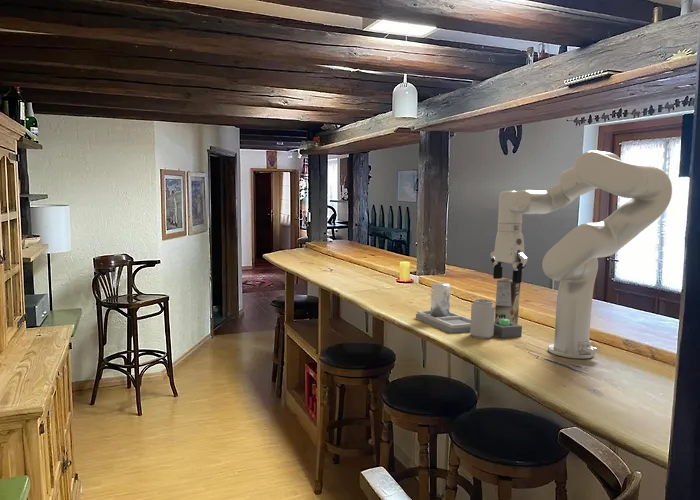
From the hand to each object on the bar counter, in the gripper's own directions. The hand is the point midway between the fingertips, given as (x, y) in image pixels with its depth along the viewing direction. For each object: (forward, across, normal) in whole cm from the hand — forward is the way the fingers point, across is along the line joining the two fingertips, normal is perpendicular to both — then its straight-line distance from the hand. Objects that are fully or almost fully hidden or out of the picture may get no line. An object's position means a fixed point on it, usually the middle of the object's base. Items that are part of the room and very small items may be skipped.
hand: (506, 280), depth 177 cm
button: (+16, 0, 0) cm, 16 cm away
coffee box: (+18, +12, -11) cm, 24 cm away
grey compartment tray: (+18, +18, +10) cm, 27 cm away
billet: (+16, +23, +10) cm, 30 cm away
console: (+18, 0, 0) cm, 18 cm away
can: (+18, 0, +9) cm, 21 cm away
